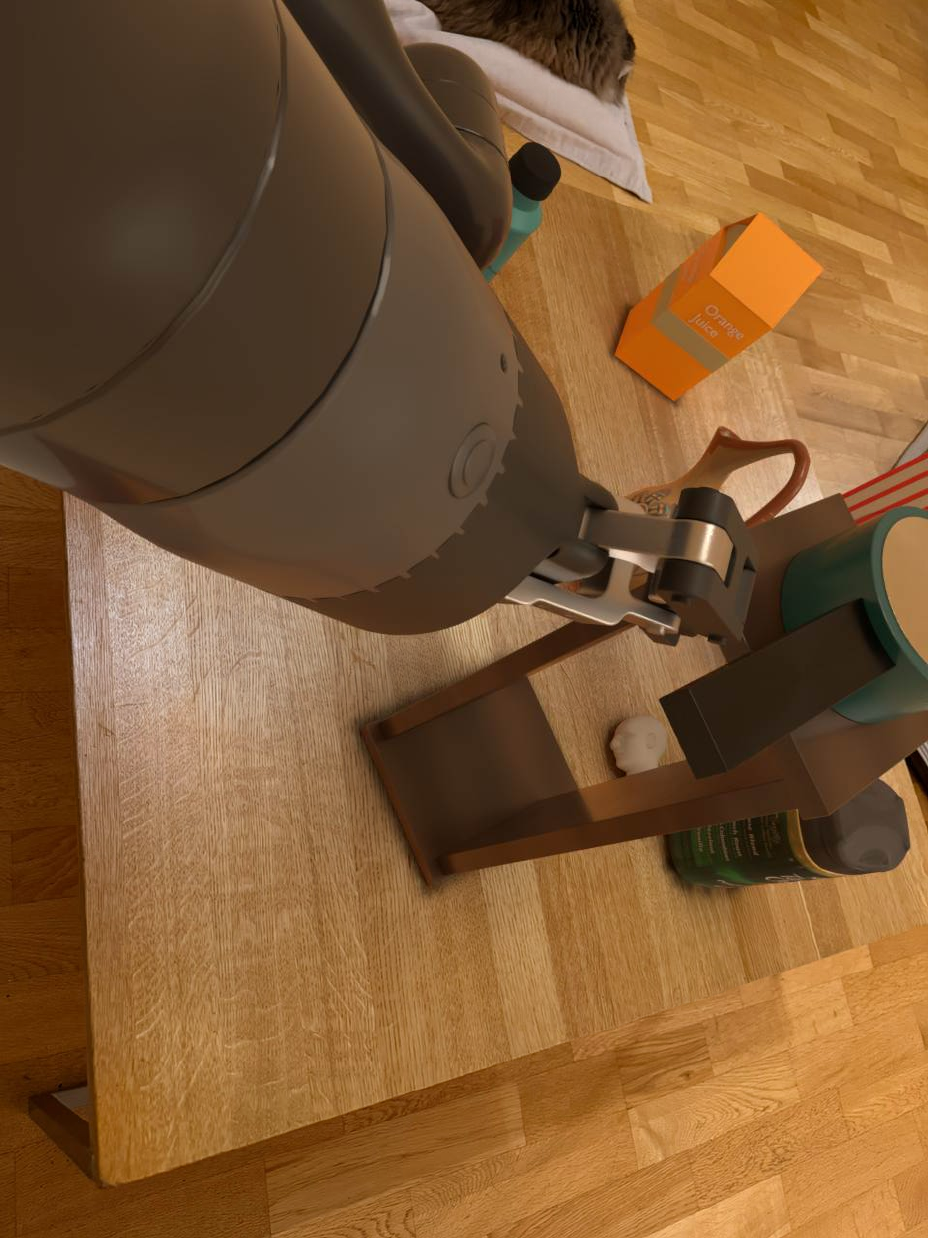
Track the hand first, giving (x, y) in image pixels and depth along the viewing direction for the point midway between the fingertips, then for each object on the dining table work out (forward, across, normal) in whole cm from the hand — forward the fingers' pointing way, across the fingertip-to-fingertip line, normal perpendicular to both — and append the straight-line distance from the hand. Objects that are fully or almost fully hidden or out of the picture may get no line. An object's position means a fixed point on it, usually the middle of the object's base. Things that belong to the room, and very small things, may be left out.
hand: (552, 590), depth 33 cm
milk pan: (+13, -7, -1) cm, 15 cm away
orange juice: (+67, +18, -39) cm, 79 cm away
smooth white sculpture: (+54, +7, +5) cm, 54 cm away
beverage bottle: (+44, +34, -31) cm, 64 cm away
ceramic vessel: (+55, +14, -11) cm, 58 cm away
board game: (+70, 0, -9) cm, 70 cm away
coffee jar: (+59, -1, +11) cm, 60 cm away
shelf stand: (+41, +16, +9) cm, 45 cm away
